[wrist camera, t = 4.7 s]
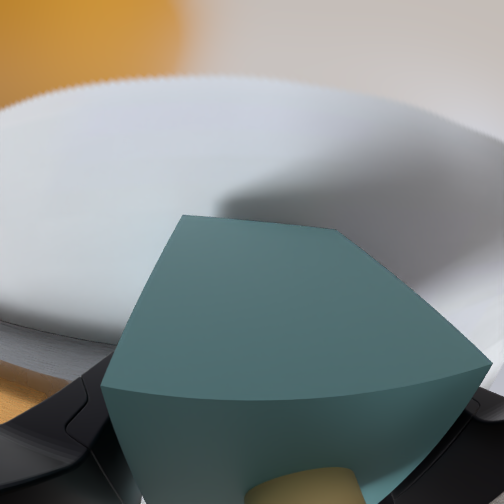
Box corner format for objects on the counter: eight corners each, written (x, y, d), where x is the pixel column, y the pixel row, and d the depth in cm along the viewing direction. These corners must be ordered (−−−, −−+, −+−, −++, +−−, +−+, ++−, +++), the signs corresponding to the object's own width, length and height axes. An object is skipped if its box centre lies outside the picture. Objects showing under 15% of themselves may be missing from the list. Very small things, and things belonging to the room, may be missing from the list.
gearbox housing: (137, 348, 13) (107, 449, 7) (159, 465, 17) (154, 530, 11) (-76, 293, 10) (-119, 331, 5) (-26, 406, 14) (-49, 447, 8)
